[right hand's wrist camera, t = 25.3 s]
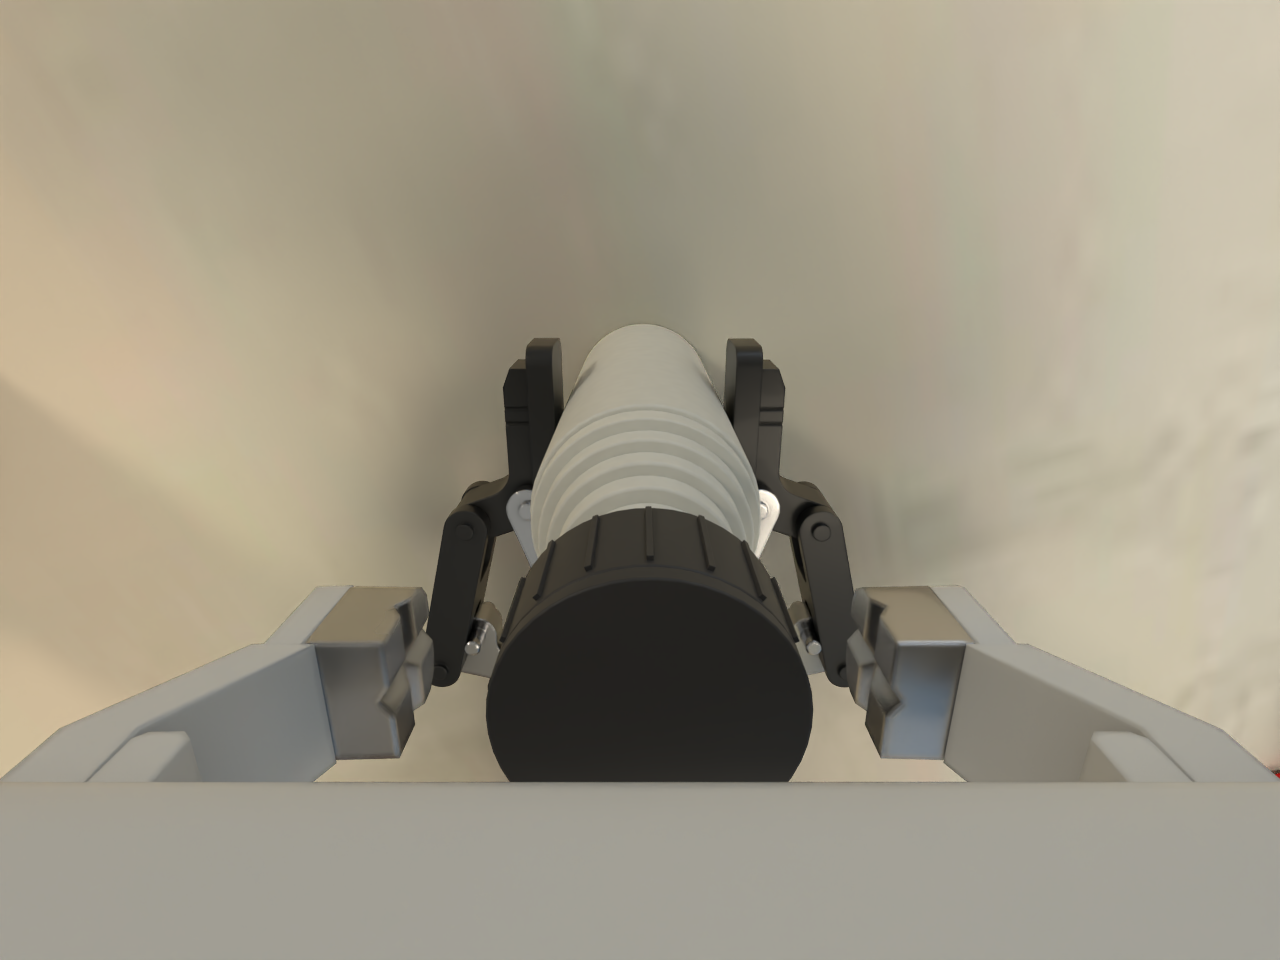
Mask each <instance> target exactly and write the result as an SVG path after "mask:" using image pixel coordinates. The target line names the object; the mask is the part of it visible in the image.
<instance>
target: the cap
mask: <svg viewBox="0 0 1280 960" xmlns="http://www.w3.org/2000/svg"><path fill="white" fill-rule="evenodd" d="M499 641H500V642H502V645H501V648H500V651H499V654H498V657H497V659H496V662H495V665H494V668H493V671H492V674H491V677H490V680H489V683H488V694H487V699H486V721H487V729H488V735H489V739H490V742H491V745H492V749H493V752H494V754H495V756H496V759H497V761H498V763H499V765H500V767H501V769H502V771H503V772H504V774H505V775H506V777H507V778H508V780H509V781H510V782H788V781H789V780H790V779H791V777H792V776H793V774H794V773H795V771H796V769H797V767H798V766H799V764H800V762H801V760H802V758H803V755H804V753H805V750H806V748H807V745H808V741H809V737H810V733H811V728H812V718H813V702H812V691H811V687H810V683H809V679H808V675H807V672H806V670H805V667H804V664H803V662H802V659H801V656H800V654H799V651H798V648H797V646H796V643H797V642H799V641H800V640H799V638H798V635H797V633H796V630H795V627H794V625H793V622H792V620H791V617H790V615H789V612H788V609H787V607H786V604H785V602H784V599H783V597H782V594H781V592H780V589H779V586H778V584H777V581H776V579H775V577H773V578H770V576H769V574H768V573H767V571H766V569H765V568H764V566H763V565H762V563H761V561H760V560H759V559H758V558H757V557H756V555H755V554H754V553H753V552H752V551H751V549H750V547H749V544H748V542H746V541H745V540H743V541H741V540H740V539H739V538H737V537H736V536H734V535H733V534H731V533H730V532H729V531H727V530H726V529H724V528H723V527H721V526H719V525H717V524H715V523H713V522H711V521H709V520H707V519H705V517H704V516H702V515H698V516H695V515H693V514H689V513H685V512H680V511H676V510H670V509H660V508H652V507H651V506H646V507H645V508H634V509H627V510H620V511H615V512H611V513H608V514H604V515H601V516H598V515H595V516H592V519H590V520H588V521H586V522H583V523H581V524H579V525H578V526H576V527H574V528H572V529H571V530H569V531H567V532H566V533H565V534H563V535H562V536H561V537H559V538H558V539H557V540H555V541H553V540H551V541H550V542H549V543H548V546H547V549H546V550H545V551H544V552H543V553H542V554H541V555H540V556H539V558H538V559H537V560H536V562H535V563H534V564H533V566H532V567H531V569H530V571H529V573H528V574H527V576H526V578H523V577H521V579H520V581H519V584H518V587H517V590H516V593H515V596H514V599H513V601H512V604H511V607H510V610H509V613H508V616H507V619H506V622H505V625H504V628H503V631H502V633H501V636H500V639H499Z"/></svg>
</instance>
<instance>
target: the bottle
mask: <svg viewBox="0 0 1280 960" xmlns="http://www.w3.org/2000/svg"><path fill="white" fill-rule="evenodd" d="M646 506H651V507H652V508H660V509H670V510H676V511H680V512H685V513H689V514H693V515H695V516H698V515H702V516H704V517H705V519H707V520H709V521H711V522H713V523H715V524H717V525H719V526H721V527H723V528H724V529H726V530H727V531H729V532H730V533H731V534H733V535H734V536H736V537H737V538H739V539H740V540H741V541H743V540H745V541H746V542H748V544H749V547H750V549H751V551H752V552H753V553H754V554H755V552H756V549H757V545H758V541H759V536H760V510H761V506H760V495H759V490H758V485H757V481H756V478H755V476H754V473H753V470H752V468H751V466H750V463H749V461H748V459H747V457H746V455H745V453H744V451H743V449H742V446H741V444H740V442H739V440H738V438H737V436H736V434H735V432H734V429H733V427H732V425H731V423H730V421H729V419H728V417H727V415H726V412H725V410H724V408H723V406H722V404H721V402H720V400H719V398H718V395H717V393H716V391H715V389H714V387H713V385H712V383H711V381H710V378H709V376H708V374H707V372H706V370H705V368H704V366H703V364H702V361H701V359H700V358H699V356H698V354H697V352H696V351H695V350H694V348H693V347H692V346H691V345H690V344H689V343H688V342H687V341H686V340H685V339H684V338H683V337H681V336H680V335H679V334H677V333H675V332H673V331H672V330H669V329H667V328H665V327H661V326H657V325H652V324H635V325H629V326H625V327H622V328H619V329H617V330H615V331H613V332H611V333H609V334H608V335H606V336H605V337H604V338H602V339H601V340H600V341H599V342H598V343H597V344H596V345H595V346H594V347H593V349H592V350H591V351H590V353H589V354H588V356H587V358H586V360H585V362H584V364H583V366H582V369H581V371H580V374H579V376H578V378H577V381H576V383H575V385H574V388H573V390H572V392H571V395H570V397H569V400H568V402H567V404H566V407H565V409H564V411H563V414H562V416H561V418H560V421H559V423H558V426H557V428H556V430H555V433H554V435H553V437H552V440H551V442H550V444H549V447H548V449H547V451H546V454H545V456H544V459H543V461H542V463H541V466H540V468H539V471H538V473H537V476H536V479H535V481H534V486H533V490H532V495H531V507H530V512H531V531H532V539H533V544H534V549H535V552H536V554H537V557H538V558H539V556H540V555H541V554H542V553H543V552H544V551H545V550H546V549H547V546H548V543H549V542H550V541H551V540H553V541H555V540H557V539H558V538H559V537H561V536H562V535H563V534H565V533H566V532H567V531H569V530H571V529H572V528H574V527H576V526H578V525H579V524H581V523H583V522H586V521H588V520H590V519H592V516H595V515H598V516H601V515H604V514H608V513H611V512H615V511H620V510H627V509H634V508H645V507H646Z"/></svg>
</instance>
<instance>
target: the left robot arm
mask: <svg viewBox="0 0 1280 960" xmlns="http://www.w3.org/2000/svg"><path fill="white" fill-rule="evenodd" d="M503 394H504V407H505V421H506V435H507V449H508V462H509V475H507V476H506V477H504V478H501V479H499V480H496V481H493V482H487V481H478V482H475V483H473V484H471V485H470V486H469V487H468V488H467V490H466V491H465V493H464V494H463V496H462V500H461V502H460V503H459V505H458V506H457V508H456V509H454V510H453V511H452V512H451V514H450V515H449V517H448V518H447V520H446V522H445V525H444V530H443V535H442V541H441V547H440V553H439V559H438V565H437V571H436V577H435V582H434V588H433V594H432V600H431V606H430V612H429V618H428V624H427V630H426V633H427V635H428V636H429V637H430V638H431V639H432V640H433V648H434V674H433V679H432V685H434V686H438V687H446V686H450V685H452V684H454V683H455V682H456V681H457V680H458V678H459V676H460V673H461V672H464V673H469V674H474V675H479V676H483V677H488V678H490V677H491V674H492V671H493V668H494V665H495V662H496V659H497V657H498V654H499V651H500V648H501V645H502V642H500V641H499V639H500V636H501V633H502V631H503V628H502V616H501V614H500V612H499V611H498V610H497V609H496V607H495V605H494V604H493V603H491V602H484V603H483V601H484V596H485V591H486V586H487V581H488V576H489V571H490V566H491V561H492V556H493V551H494V546H495V541H496V537H497V536H499V535H502V534H505V533H508V532H511V531H515V534H516V536H517V538H518V540H519V542H520V544H521V547H522V549H523V551H524V553H525V555H526V558H527V560H528V562H529V564H530V567H532V566H533V564H534V563H535V562H536V560H537V559H538V557H537V554H536V552H535V549H534V544H533V539H532V531H531V512H530V507H531V495H532V490H533V486H534V481H535V479H536V476H537V473H538V471H539V468H540V466H541V463H542V461H543V459H544V456H545V454H546V451H547V449H548V447H549V444H550V442H551V440H552V437H553V435H554V433H555V430H556V428H557V426H558V423H559V421H560V418H561V416H562V414H563V411H564V402H563V378H562V355H561V343H560V339H559V338H534V339H533V340H532V341H531V342H530V343H529V344H528V345H527V348H526V359H518V360H517V361H516V362H515V363H514V364H513V366H512V367H511V368H510V369H509V371H508V374H507V377H506V380H505V383H504V386H503ZM784 398H785V386H784V383H783V380H782V377H781V374H780V371H779V369H778V368H777V367H776V366H775V365H774V364H773V363H772V362H771V361H770V360H763V352H762V347H761V345H759V344H758V343H757V342H756V341H755V340H754V339H728V341H727V349H726V369H725V392H724V410H725V412H726V415H727V417H728V419H729V421H730V423H731V425H732V427H733V429H734V432H735V434H736V436H737V438H738V440H739V442H740V444H741V446H742V449H743V451H744V453H745V455H746V457H747V459H748V461H749V463H750V466H751V468H752V470H753V473H754V476H755V478H756V481H757V485H758V490H759V495H760V506H761V510H760V536H759V541H758V545H757V549H756V552H755V555H756V557H757V558H758V559H759V558H760V556H761V554H762V551H763V549H764V547H765V545H766V543H767V540H768V538H769V536H770V534H771V532H772V530H773V531H776V532H779V533H782V534H785V535H788V536H789V537H790V542H791V547H792V552H793V557H794V562H795V567H796V572H797V577H798V582H799V587H800V592H801V597H802V602H803V603H802V602H800V601H796V602H794V603H792V604H791V606H790V608H789V609H788V612H789V615H790V617H791V620H792V622H793V625H794V627H795V630H796V633H797V635H798V638H799V640H800V641H799V642H797V643H796V646H797V648H798V651H799V654H800V656H801V659H802V662H803V664H804V667H805V670H806V672H807V675H810V674H815V673H820V672H825V673H826V675H827V678H828V679H829V681H830V682H831V683H832V684H834V685H836V686H839V687H849V685H848V681H847V673H846V649H847V640H848V639H849V638H850V637H851V636H852V635H853V633H854V632H855V631H856V630H857V629H858V627H857V625H856V624H855V622H854V620H853V618H852V616H851V607H852V599H853V596H854V592H853V586H852V580H851V574H850V568H849V562H848V556H847V550H846V545H845V539H844V533H843V527H842V523H841V521H840V520H839V518H838V517H837V515H836V514H835V512H834V511H833V509H832V508H831V507H830V505H829V504H828V502H827V501H826V499H825V498H824V496H823V495H822V493H821V492H820V491H819V489H818V488H817V487H816V486H815V485H814V484H812V483H809V482H794V481H791V480H788V479H786V478H783V477H781V476H780V475H779V465H780V452H781V438H782V422H783V408H784Z"/></svg>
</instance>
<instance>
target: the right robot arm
mask: <svg viewBox="0 0 1280 960" xmlns="http://www.w3.org/2000/svg"><path fill="white" fill-rule="evenodd" d="M428 616H429V608H428V601H427V595H426V593H425V591H424V590H423V588H422V587H379V586H353V585H345V586H321V587H316V588H315V589H314V590H313V591H312V592H311V593H310V594H309V595H308V596H307V597H306V599H305V600H304V601H303V602H302V603H301V604H300V605H299V606H298V607H297V608H296V609H295V610H294V612H293V613H292V614H291V615H290V616H289V617H288V618H287V619H286V620H285V621H284V622H283V623H282V625H281V626H280V627H279V628H278V629H277V630H276V631H275V632H274V633H273V634H272V635H271V636H270V638H269V639H268V640H267V641H266V642H265V643H264V644H251V645H249V646H247V647H244V648H242V649H240V650H237V651H235V652H233V653H231V654H228V655H226V656H224V657H222V658H219V659H217V660H215V661H212V662H210V663H208V664H206V665H203V666H201V667H199V668H196V669H194V670H192V671H190V672H187V673H185V674H183V675H180V676H178V677H176V678H174V679H171V680H169V681H167V682H164V683H162V684H160V685H158V686H155V687H153V688H151V689H149V690H146V691H144V692H142V693H139V694H137V695H135V696H133V697H130V698H128V699H126V700H123V701H121V702H119V703H117V704H114V705H112V706H110V707H107V708H105V709H103V710H101V711H98V712H96V713H94V714H91V715H89V716H87V717H85V718H82V719H80V720H78V721H76V722H73V723H71V724H69V725H66V726H64V727H62V728H60V729H58V730H57V731H56V732H55V733H54V734H52V735H51V736H50V737H49V738H48V739H47V740H45V741H44V742H43V743H42V744H41V745H39V746H38V747H37V748H36V749H35V750H34V751H32V752H31V753H30V754H29V755H28V756H27V757H25V758H24V759H23V760H22V761H21V762H20V763H18V764H17V765H16V766H15V767H14V768H12V769H11V770H10V771H9V772H8V773H7V774H5V775H4V776H3V777H2V778H1V779H0V960H1280V779H1279V778H1278V777H1277V776H1276V775H1275V774H1274V773H1272V772H1271V771H1270V770H1269V769H1268V768H1267V767H1265V766H1264V765H1263V764H1262V763H1261V762H1260V761H1258V760H1257V759H1256V758H1255V757H1254V756H1253V755H1251V754H1250V753H1249V752H1248V751H1247V750H1246V749H1244V748H1243V747H1242V746H1241V745H1240V744H1239V743H1237V742H1236V741H1235V740H1234V739H1233V738H1232V737H1230V736H1229V735H1228V734H1227V733H1226V732H1225V731H1223V730H1222V729H1220V728H1218V727H1215V726H1213V725H1211V724H1208V723H1206V722H1204V721H1202V720H1199V719H1197V718H1195V717H1193V716H1190V715H1188V714H1186V713H1183V712H1181V711H1179V710H1177V709H1174V708H1172V707H1170V706H1168V705H1165V704H1163V703H1161V702H1158V701H1156V700H1154V699H1152V698H1149V697H1147V696H1145V695H1143V694H1140V693H1138V692H1136V691H1133V690H1131V689H1129V688H1127V687H1124V686H1122V685H1120V684H1118V683H1115V682H1113V681H1111V680H1108V679H1106V678H1104V677H1102V676H1099V675H1097V674H1095V673H1093V672H1090V671H1088V670H1086V669H1083V668H1081V667H1079V666H1077V665H1074V664H1072V663H1070V662H1068V661H1065V660H1063V659H1061V658H1058V657H1056V656H1054V655H1052V654H1049V653H1047V652H1045V651H1042V650H1040V649H1038V648H1036V647H1033V646H1031V645H1029V644H1016V643H1015V642H1014V641H1013V640H1012V639H1011V638H1010V636H1009V635H1008V634H1007V633H1006V632H1005V631H1004V630H1003V629H1002V628H1001V627H1000V626H999V625H998V623H997V622H996V621H995V620H994V619H993V618H992V617H991V616H990V615H989V614H988V613H987V612H986V610H985V609H984V608H983V607H982V606H981V605H980V604H979V603H978V602H977V601H976V600H975V598H974V597H973V596H972V595H971V594H970V593H969V592H968V591H967V590H966V589H965V588H964V587H961V586H958V585H950V586H904V587H862V588H858V589H856V591H855V593H854V596H853V599H852V607H851V616H852V618H853V620H854V622H855V624H856V625H857V627H858V629H857V630H856V631H855V632H854V633H853V635H852V636H851V637H850V638H849V639H848V640H847V649H846V673H847V681H848V685H849V688H850V692H851V694H852V697H853V699H854V701H855V703H856V704H857V705H859V706H860V707H862V708H863V709H865V710H866V711H867V713H866V721H865V725H866V728H867V730H868V732H869V734H870V736H871V738H872V740H873V743H874V745H875V747H876V749H877V751H878V753H879V755H880V758H892V759H929V760H944V762H943V763H945V764H946V765H947V766H948V767H949V768H951V769H952V770H953V771H954V772H956V773H957V774H958V775H959V776H961V777H962V778H963V779H964V780H966V781H967V782H314V781H315V780H316V779H317V778H318V777H320V776H321V775H322V774H323V773H325V772H326V771H327V770H328V769H330V768H331V767H332V766H333V765H335V764H336V760H351V759H386V758H400V756H401V753H402V751H403V749H404V747H405V745H406V743H407V741H408V738H409V736H410V734H411V732H412V730H413V728H414V725H415V721H414V713H413V711H414V710H415V709H417V708H418V707H420V706H421V705H423V704H424V703H425V701H426V699H427V697H428V694H429V692H430V689H431V684H432V679H433V674H434V648H433V640H432V639H431V638H430V637H429V636H428V635H427V633H426V632H425V631H424V630H423V629H422V627H423V625H424V624H425V622H426V620H427V618H428Z"/></svg>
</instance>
